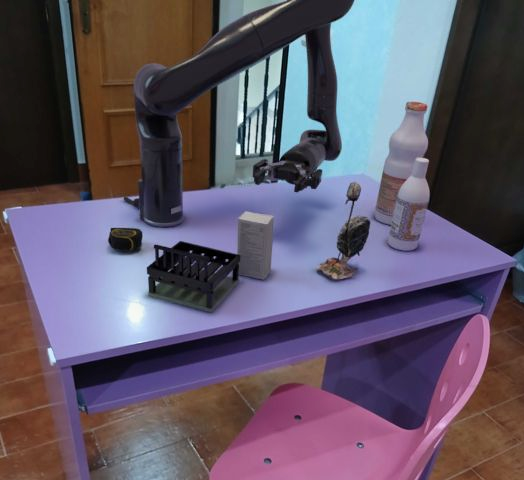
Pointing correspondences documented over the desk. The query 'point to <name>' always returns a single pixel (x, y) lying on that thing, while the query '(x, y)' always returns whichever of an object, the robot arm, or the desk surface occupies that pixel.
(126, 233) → the tape measure
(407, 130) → the fruit juice
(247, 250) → the cosmetic box
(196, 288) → the dish rack
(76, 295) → the desk surface
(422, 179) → the bath foam
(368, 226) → the plant with pod
